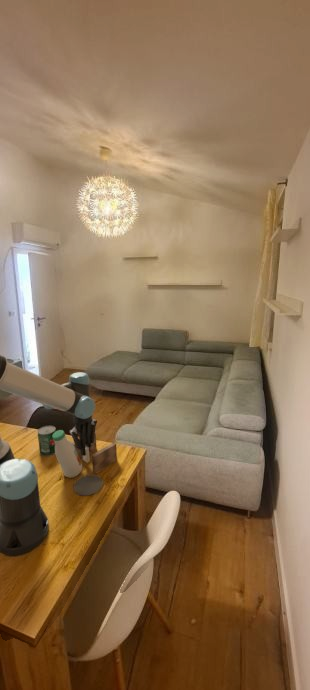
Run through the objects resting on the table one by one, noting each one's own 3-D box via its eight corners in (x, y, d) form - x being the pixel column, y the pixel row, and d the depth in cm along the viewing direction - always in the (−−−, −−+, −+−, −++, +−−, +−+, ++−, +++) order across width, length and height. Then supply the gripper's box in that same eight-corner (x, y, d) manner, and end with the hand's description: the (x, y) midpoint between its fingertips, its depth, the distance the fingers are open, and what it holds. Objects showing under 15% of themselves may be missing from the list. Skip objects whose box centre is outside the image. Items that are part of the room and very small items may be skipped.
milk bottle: (80, 477, 118) (64, 439, 110) (62, 479, 119) (45, 442, 110) (84, 461, 125) (70, 425, 117) (66, 464, 126) (51, 428, 117)
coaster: (85, 500, 107) (85, 498, 107) (68, 486, 114) (67, 485, 114) (108, 483, 115) (108, 482, 115) (90, 472, 122) (90, 471, 122)
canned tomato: (39, 449, 139) (36, 427, 137) (56, 444, 143) (54, 424, 140) (40, 458, 132) (38, 435, 130) (58, 453, 136) (56, 431, 133)
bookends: (95, 474, 121) (94, 456, 119) (72, 459, 131) (71, 443, 129) (116, 460, 130) (116, 443, 128) (94, 447, 140) (93, 432, 138)
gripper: (74, 418, 114) (79, 471, 120) (100, 406, 124) (104, 456, 129) (62, 413, 119) (68, 464, 124) (89, 402, 128) (92, 450, 134)
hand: (86, 460), depth 127 cm, fingers closed
